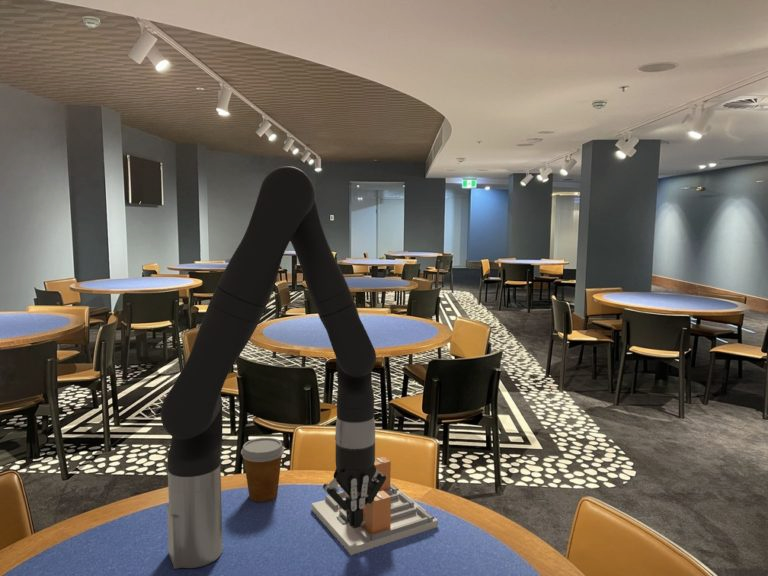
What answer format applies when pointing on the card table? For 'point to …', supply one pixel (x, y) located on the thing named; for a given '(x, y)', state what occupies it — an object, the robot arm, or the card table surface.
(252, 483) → the disposable coffee cup
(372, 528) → the tab near
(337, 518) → the switch bank
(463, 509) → the card table surface
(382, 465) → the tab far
